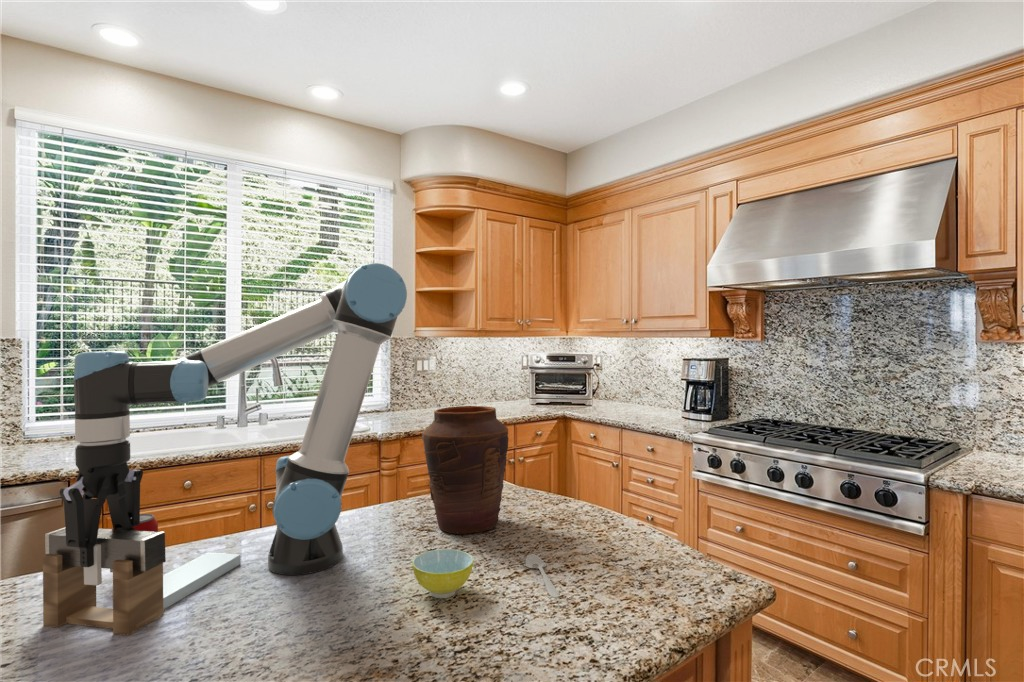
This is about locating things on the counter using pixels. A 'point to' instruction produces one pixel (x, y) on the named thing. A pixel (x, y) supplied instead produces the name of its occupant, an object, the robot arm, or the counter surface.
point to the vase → (466, 467)
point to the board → (196, 575)
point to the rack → (77, 601)
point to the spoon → (536, 560)
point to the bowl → (442, 571)
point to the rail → (114, 548)
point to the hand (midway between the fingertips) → (106, 577)
